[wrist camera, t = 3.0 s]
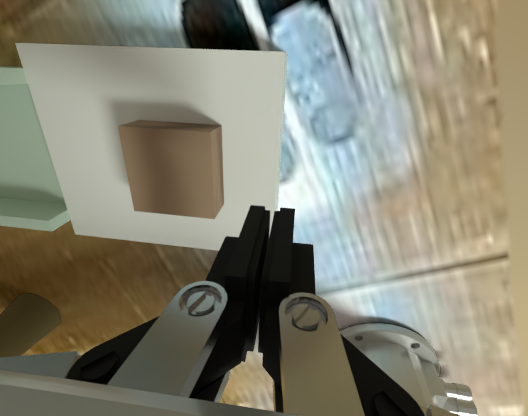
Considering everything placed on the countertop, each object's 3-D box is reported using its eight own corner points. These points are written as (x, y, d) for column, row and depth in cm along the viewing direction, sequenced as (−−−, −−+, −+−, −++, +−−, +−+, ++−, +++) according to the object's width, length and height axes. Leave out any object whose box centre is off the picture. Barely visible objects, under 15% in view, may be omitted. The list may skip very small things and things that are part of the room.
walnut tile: (221, 125, 19) (210, 132, 17) (224, 204, 22) (214, 219, 20) (139, 119, 20) (117, 126, 17) (151, 197, 22) (134, 211, 20)
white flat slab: (287, 54, 19) (284, 51, 17) (275, 237, 26) (272, 256, 23) (51, 46, 21) (15, 42, 19) (97, 218, 28) (75, 234, 25)
